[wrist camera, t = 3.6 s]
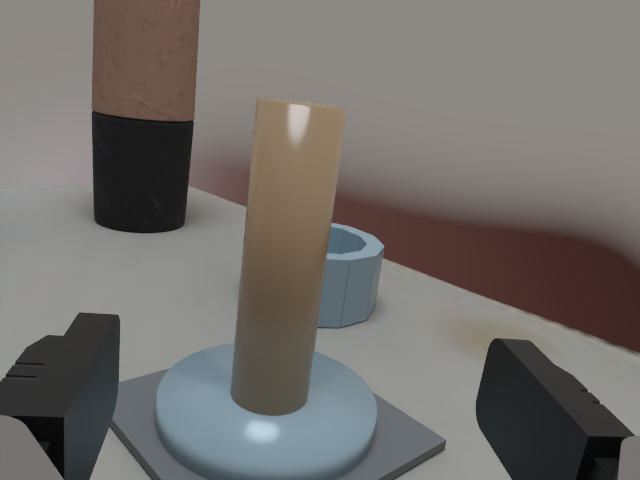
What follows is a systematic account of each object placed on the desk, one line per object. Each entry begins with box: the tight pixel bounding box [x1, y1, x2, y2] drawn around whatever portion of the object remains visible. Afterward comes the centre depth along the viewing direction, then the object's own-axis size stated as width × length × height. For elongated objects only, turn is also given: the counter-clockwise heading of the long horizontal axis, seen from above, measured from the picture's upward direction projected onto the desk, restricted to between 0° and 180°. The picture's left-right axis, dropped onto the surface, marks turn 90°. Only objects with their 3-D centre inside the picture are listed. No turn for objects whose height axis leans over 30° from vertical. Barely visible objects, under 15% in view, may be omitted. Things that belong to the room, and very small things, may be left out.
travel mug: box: [92, 0, 200, 232], centre depth 44 cm, size 8×8×20 cm
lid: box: [156, 97, 377, 480], centre depth 21 cm, size 8×8×12 cm
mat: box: [110, 368, 446, 480], centre depth 22 cm, size 10×10×1 cm
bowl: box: [317, 223, 384, 328], centre depth 35 cm, size 8×8×4 cm
